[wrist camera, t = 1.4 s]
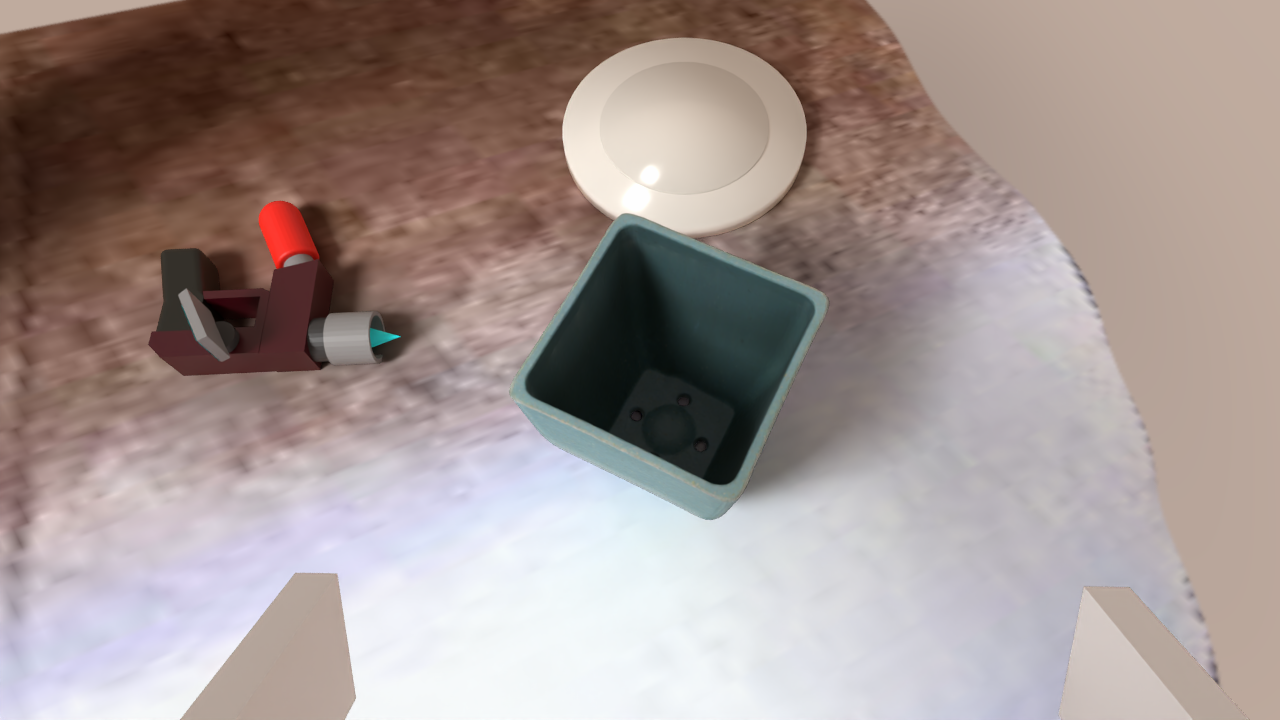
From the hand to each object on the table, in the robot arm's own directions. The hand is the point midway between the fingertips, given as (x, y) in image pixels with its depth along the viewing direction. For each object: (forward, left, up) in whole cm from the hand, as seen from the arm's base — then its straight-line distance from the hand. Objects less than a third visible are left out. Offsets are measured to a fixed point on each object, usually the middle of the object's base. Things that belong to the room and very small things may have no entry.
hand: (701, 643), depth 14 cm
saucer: (-14, +24, -19) cm, 34 cm away
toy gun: (-26, +6, -20) cm, 33 cm away
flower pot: (-6, +9, -19) cm, 22 cm away
